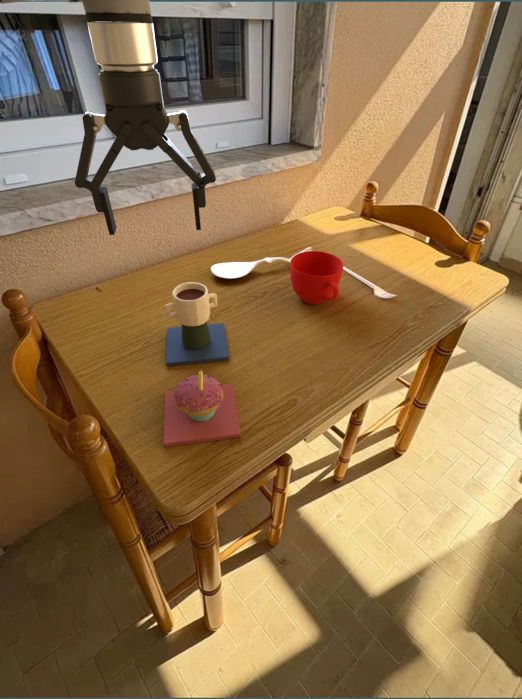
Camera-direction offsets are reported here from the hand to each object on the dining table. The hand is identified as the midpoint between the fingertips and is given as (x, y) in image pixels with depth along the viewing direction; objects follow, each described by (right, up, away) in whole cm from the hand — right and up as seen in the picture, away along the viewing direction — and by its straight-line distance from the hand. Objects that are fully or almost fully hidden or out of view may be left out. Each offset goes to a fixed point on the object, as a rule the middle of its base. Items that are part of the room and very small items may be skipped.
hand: (156, 229), depth 62 cm
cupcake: (+6, -31, +7) cm, 32 cm away
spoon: (+19, +3, +48) cm, 52 cm away
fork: (+46, -2, +43) cm, 63 cm away
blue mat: (+3, -19, +22) cm, 29 cm away
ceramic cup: (+31, -7, +36) cm, 48 cm away
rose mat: (+6, -32, +7) cm, 33 cm away
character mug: (+3, -18, +22) cm, 28 cm away
